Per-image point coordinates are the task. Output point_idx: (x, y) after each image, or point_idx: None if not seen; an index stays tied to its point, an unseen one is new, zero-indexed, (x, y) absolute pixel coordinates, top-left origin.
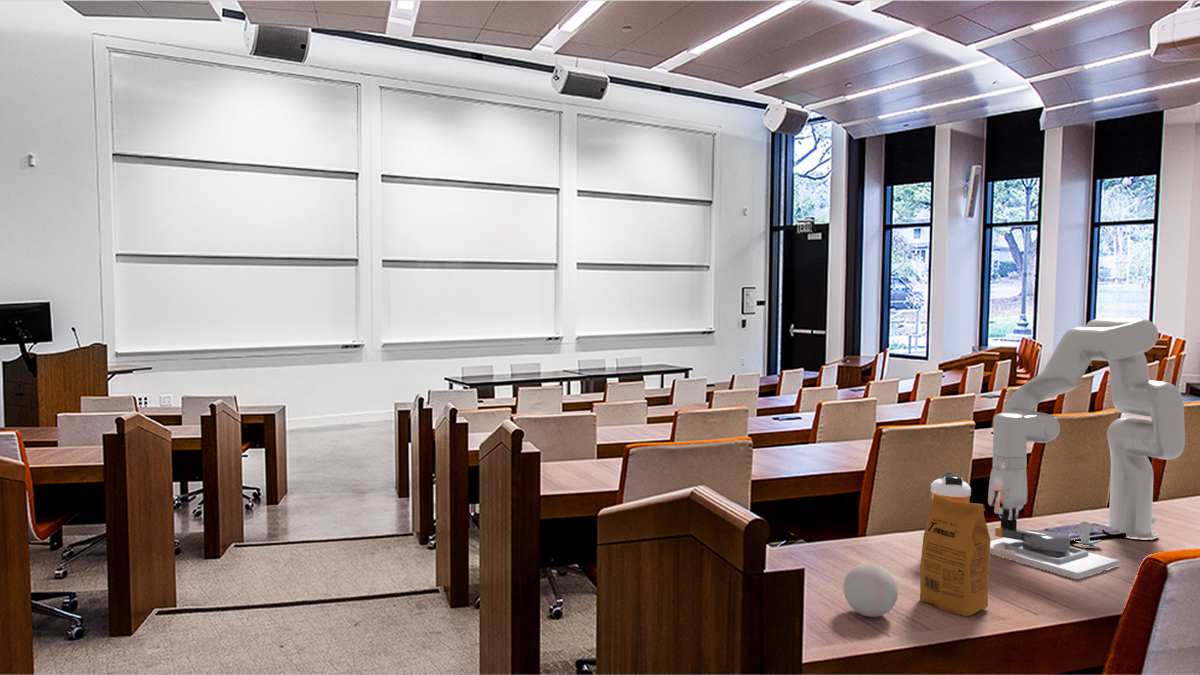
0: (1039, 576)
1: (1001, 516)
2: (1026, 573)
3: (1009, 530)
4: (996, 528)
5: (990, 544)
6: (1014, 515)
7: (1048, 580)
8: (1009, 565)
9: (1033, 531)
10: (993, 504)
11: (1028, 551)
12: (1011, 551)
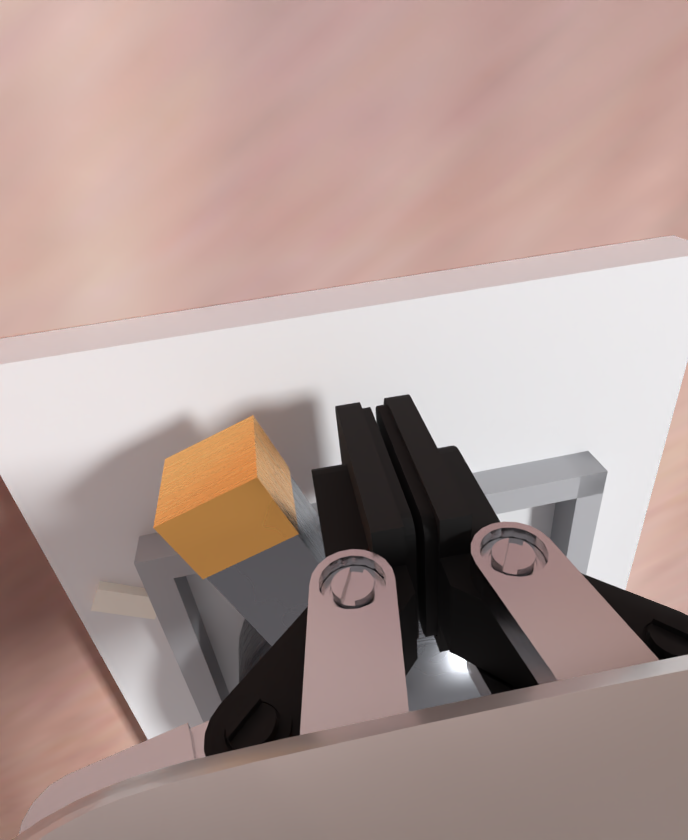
0: (50, 768)
1: (292, 634)
2: (7, 738)
3: (247, 620)
4: (161, 535)
5: (103, 417)
6: (477, 683)
7: None
8: (3, 644)
9: (448, 672)
10: (223, 787)
11: (191, 692)
12: (120, 611)
